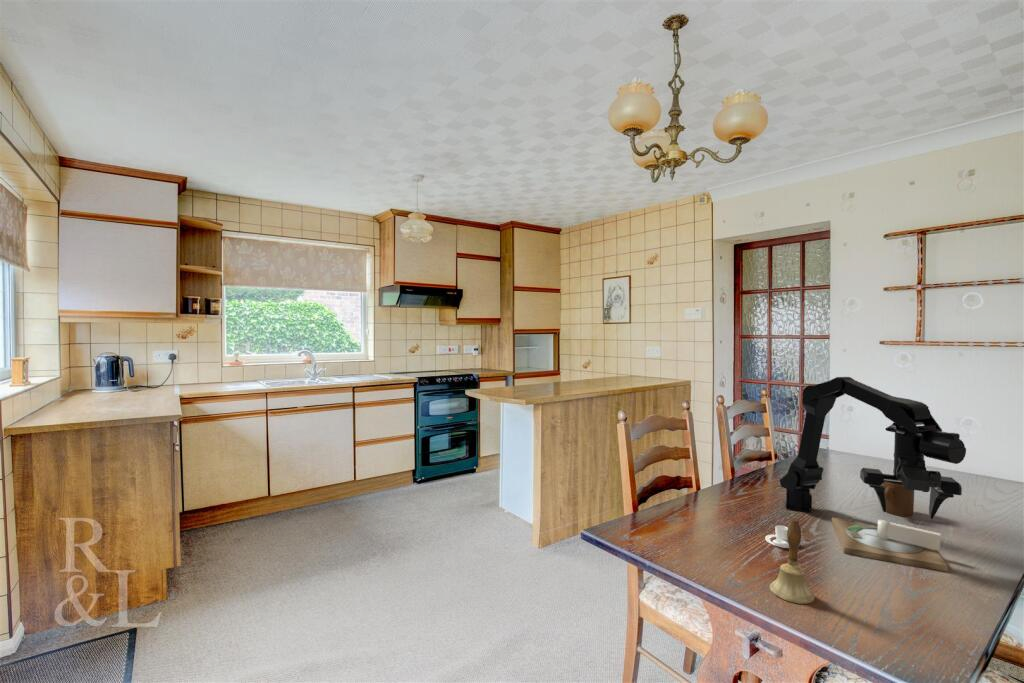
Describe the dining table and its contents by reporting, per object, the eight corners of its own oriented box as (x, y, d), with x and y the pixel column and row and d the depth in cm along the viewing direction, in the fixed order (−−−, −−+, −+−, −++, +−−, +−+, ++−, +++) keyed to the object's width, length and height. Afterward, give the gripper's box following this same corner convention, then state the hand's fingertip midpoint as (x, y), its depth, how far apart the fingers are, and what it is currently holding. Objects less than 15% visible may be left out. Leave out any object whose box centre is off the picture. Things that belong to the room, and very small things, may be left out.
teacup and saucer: (785, 553, 121) (785, 537, 121) (756, 540, 128) (756, 525, 128) (806, 546, 125) (806, 530, 125) (777, 534, 132) (777, 519, 132)
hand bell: (798, 582, 107) (800, 511, 106) (823, 604, 98) (825, 527, 98) (761, 582, 106) (763, 512, 106) (784, 604, 98) (786, 528, 98)
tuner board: (843, 553, 120) (844, 545, 120) (831, 522, 139) (831, 515, 139) (947, 571, 111) (947, 563, 111) (919, 536, 130) (919, 529, 130)
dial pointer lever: (850, 531, 129) (850, 515, 129) (851, 528, 131) (852, 512, 131) (939, 553, 117) (940, 536, 116) (940, 549, 118) (940, 532, 118)
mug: (901, 522, 139) (902, 490, 139) (871, 513, 146) (872, 482, 145) (917, 513, 146) (918, 483, 145) (887, 505, 152) (888, 476, 152)
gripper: (869, 455, 115) (868, 519, 116) (972, 466, 107) (970, 535, 108) (860, 445, 125) (858, 504, 126) (953, 454, 117) (951, 517, 118)
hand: (907, 515), depth 119 cm, fingers open, 9 cm apart
